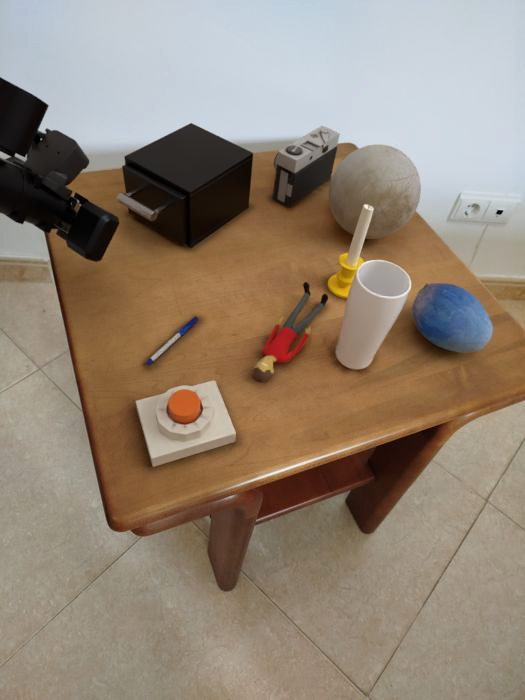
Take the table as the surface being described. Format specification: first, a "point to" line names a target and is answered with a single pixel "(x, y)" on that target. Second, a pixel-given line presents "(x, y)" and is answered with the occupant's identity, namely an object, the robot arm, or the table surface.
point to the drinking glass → (371, 311)
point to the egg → (451, 318)
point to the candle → (351, 256)
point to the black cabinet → (200, 176)
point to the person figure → (286, 338)
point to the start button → (184, 406)
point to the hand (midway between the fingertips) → (97, 225)
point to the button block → (185, 425)
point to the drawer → (155, 203)
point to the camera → (304, 165)
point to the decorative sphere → (375, 189)
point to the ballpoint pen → (173, 339)
